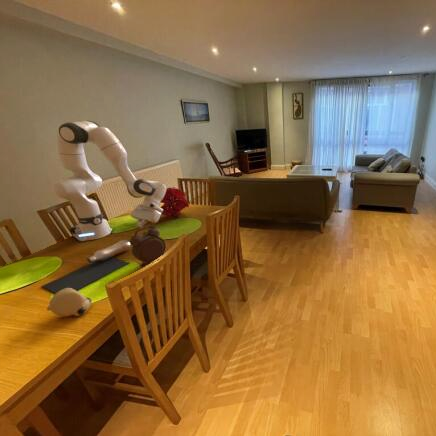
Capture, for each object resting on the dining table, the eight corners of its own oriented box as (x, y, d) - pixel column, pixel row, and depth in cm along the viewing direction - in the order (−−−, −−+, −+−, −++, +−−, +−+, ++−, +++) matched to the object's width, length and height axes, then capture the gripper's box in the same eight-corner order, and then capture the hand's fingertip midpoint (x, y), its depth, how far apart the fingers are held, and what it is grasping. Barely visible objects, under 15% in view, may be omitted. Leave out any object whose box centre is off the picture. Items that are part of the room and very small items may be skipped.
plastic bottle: (132, 250, 138) (95, 269, 121) (124, 246, 140) (86, 263, 122) (132, 241, 135) (93, 258, 118) (123, 237, 137) (84, 253, 119)
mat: (41, 286, 108) (41, 286, 107) (107, 256, 131) (107, 255, 131) (64, 297, 101) (63, 296, 101) (128, 263, 124) (128, 262, 124)
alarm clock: (161, 253, 133) (152, 220, 125) (169, 256, 130) (161, 223, 122) (134, 266, 122) (123, 231, 114) (142, 270, 118) (131, 234, 110)
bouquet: (159, 232, 173) (193, 207, 177) (133, 207, 163) (170, 182, 167) (162, 223, 192) (193, 201, 196) (139, 200, 182) (173, 177, 186)
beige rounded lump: (70, 328, 90) (87, 311, 88) (35, 314, 85) (52, 295, 83) (86, 309, 99) (101, 293, 97) (55, 294, 94) (70, 277, 92)
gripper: (134, 201, 148) (123, 222, 143) (157, 205, 140) (146, 227, 136) (142, 206, 153) (132, 226, 149) (165, 210, 146) (155, 231, 141)
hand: (139, 226), depth 142 cm, fingers closed
